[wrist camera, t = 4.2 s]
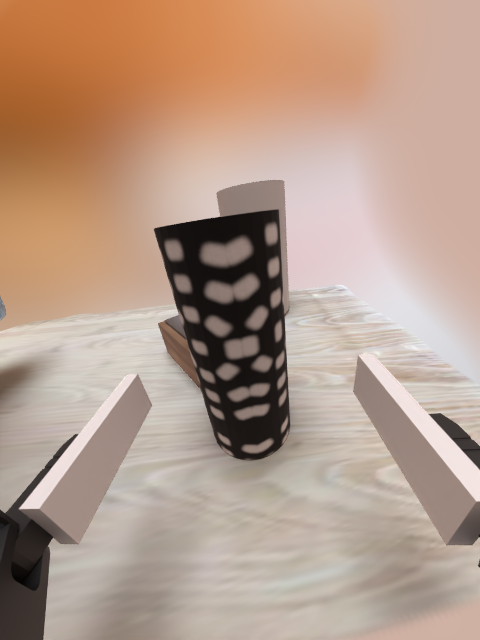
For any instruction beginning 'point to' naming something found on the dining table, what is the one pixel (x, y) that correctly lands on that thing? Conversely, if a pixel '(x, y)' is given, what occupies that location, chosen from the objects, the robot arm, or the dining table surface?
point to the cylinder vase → (255, 200)
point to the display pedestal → (178, 345)
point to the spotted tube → (234, 324)
